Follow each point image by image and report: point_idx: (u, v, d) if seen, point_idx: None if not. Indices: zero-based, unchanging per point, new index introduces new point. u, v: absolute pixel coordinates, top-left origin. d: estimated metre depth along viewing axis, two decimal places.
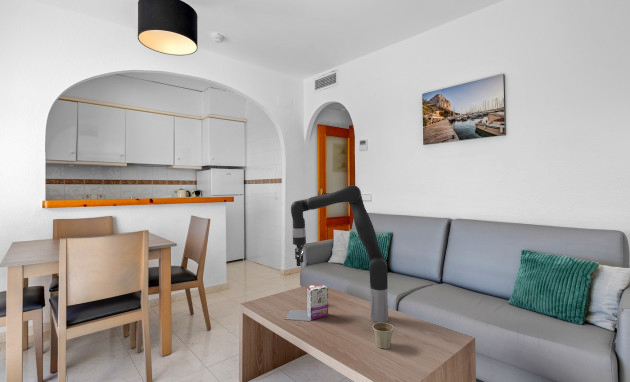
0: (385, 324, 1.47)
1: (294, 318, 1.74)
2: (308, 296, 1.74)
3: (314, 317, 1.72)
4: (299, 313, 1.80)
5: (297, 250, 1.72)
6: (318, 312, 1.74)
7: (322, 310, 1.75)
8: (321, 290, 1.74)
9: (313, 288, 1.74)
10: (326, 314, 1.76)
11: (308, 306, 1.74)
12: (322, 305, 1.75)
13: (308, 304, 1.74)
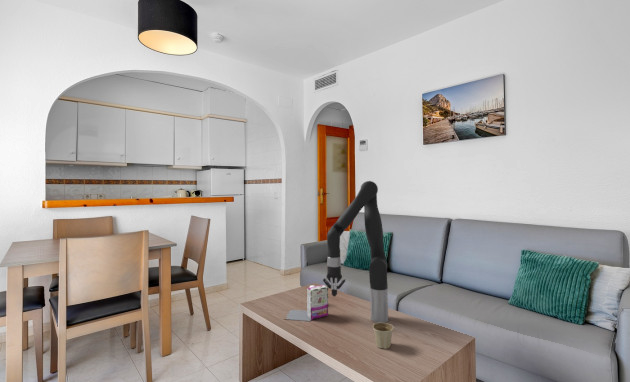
0: (385, 324, 1.47)
1: (294, 318, 1.74)
2: (308, 296, 1.74)
3: (314, 317, 1.72)
4: (299, 313, 1.80)
5: (344, 282, 1.73)
6: (318, 312, 1.74)
7: (322, 310, 1.75)
8: (321, 290, 1.74)
9: (313, 288, 1.74)
10: (326, 314, 1.76)
11: (308, 306, 1.74)
12: (322, 305, 1.75)
13: (308, 304, 1.74)
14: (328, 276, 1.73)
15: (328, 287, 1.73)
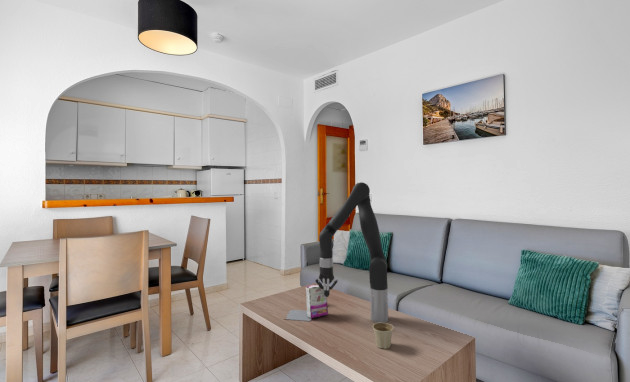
0: (385, 324, 1.47)
1: (294, 318, 1.74)
2: (307, 295, 1.75)
3: (314, 316, 1.73)
4: (299, 313, 1.80)
5: (336, 282, 1.74)
6: (318, 310, 1.74)
7: (321, 309, 1.75)
8: (320, 288, 1.76)
9: (311, 286, 1.76)
10: (326, 313, 1.76)
11: (307, 305, 1.75)
12: (321, 304, 1.75)
13: (307, 303, 1.75)
14: (320, 277, 1.74)
15: None
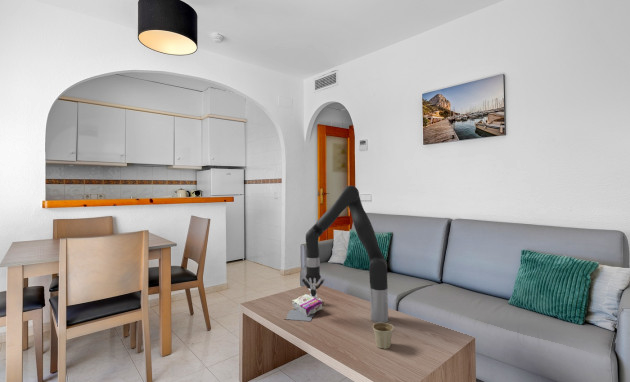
0: (385, 324, 1.47)
1: (294, 318, 1.74)
2: (296, 307, 1.85)
3: (308, 307, 1.77)
4: (299, 313, 1.80)
5: None
6: (309, 303, 1.80)
7: (312, 301, 1.82)
8: (302, 296, 1.91)
9: None
10: (319, 301, 1.81)
11: (300, 310, 1.81)
12: (309, 300, 1.84)
13: (299, 309, 1.82)
14: (307, 276, 1.76)
15: (307, 287, 1.76)
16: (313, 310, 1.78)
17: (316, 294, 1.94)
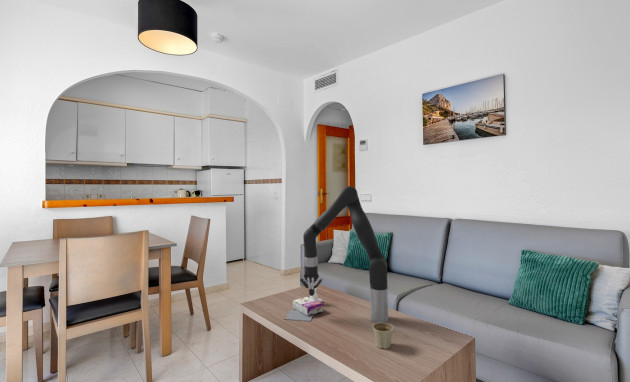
0: (385, 324, 1.47)
1: (294, 318, 1.74)
2: (296, 306, 1.85)
3: (309, 306, 1.78)
4: (299, 313, 1.80)
5: (321, 281, 1.75)
6: (311, 304, 1.81)
7: (313, 303, 1.83)
8: (303, 298, 1.92)
9: None
10: (320, 303, 1.82)
11: (301, 309, 1.81)
12: (311, 301, 1.85)
13: (300, 309, 1.82)
14: (305, 276, 1.76)
15: None
16: (314, 311, 1.78)
17: (316, 294, 1.94)
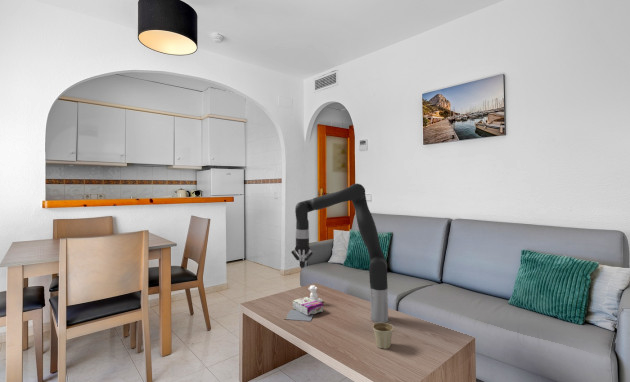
0: (385, 324, 1.47)
1: (294, 318, 1.74)
2: (296, 306, 1.85)
3: (309, 306, 1.78)
4: (299, 313, 1.80)
5: None
6: (311, 304, 1.81)
7: (313, 303, 1.83)
8: (303, 298, 1.92)
9: None
10: (320, 303, 1.82)
11: (301, 309, 1.81)
12: (311, 301, 1.85)
13: (300, 309, 1.82)
14: (296, 248, 1.77)
15: (296, 259, 1.77)
16: (314, 311, 1.78)
17: (316, 294, 1.94)
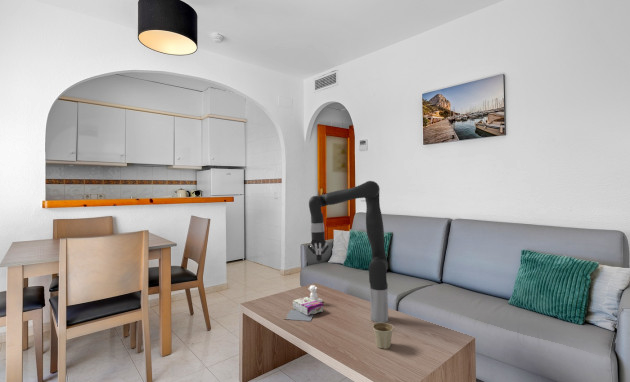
0: (385, 324, 1.47)
1: (294, 318, 1.74)
2: (296, 306, 1.85)
3: (309, 306, 1.78)
4: (299, 313, 1.80)
5: None
6: (311, 304, 1.81)
7: (313, 303, 1.83)
8: (303, 298, 1.92)
9: None
10: (320, 303, 1.82)
11: (301, 309, 1.81)
12: (311, 301, 1.85)
13: (300, 309, 1.82)
14: (312, 242, 1.79)
15: (313, 253, 1.79)
16: (314, 311, 1.78)
17: (316, 294, 1.94)
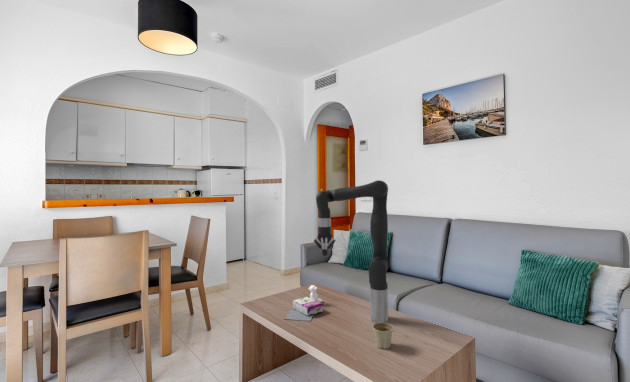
0: (385, 324, 1.47)
1: (294, 318, 1.74)
2: (296, 306, 1.85)
3: (309, 306, 1.78)
4: (299, 313, 1.80)
5: None
6: (311, 304, 1.81)
7: (313, 303, 1.83)
8: (303, 298, 1.92)
9: None
10: (320, 303, 1.82)
11: (301, 309, 1.81)
12: (311, 301, 1.85)
13: (300, 309, 1.82)
14: (319, 237, 1.80)
15: (319, 247, 1.80)
16: (314, 311, 1.78)
17: (316, 294, 1.94)
